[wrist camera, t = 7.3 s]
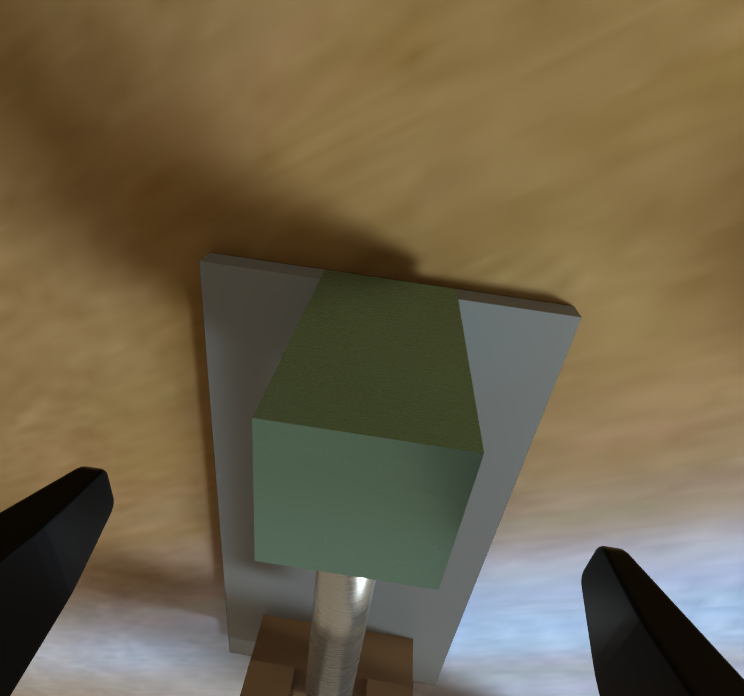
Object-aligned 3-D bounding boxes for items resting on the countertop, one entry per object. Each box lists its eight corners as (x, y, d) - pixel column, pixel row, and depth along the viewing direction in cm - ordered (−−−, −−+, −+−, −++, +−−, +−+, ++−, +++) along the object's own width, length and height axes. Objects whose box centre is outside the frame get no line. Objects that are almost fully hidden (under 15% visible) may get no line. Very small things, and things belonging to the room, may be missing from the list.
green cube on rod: (382, 607, 23) (368, 799, 17) (301, 594, 23) (259, 781, 17) (456, 288, 14) (483, 453, 8) (324, 269, 14) (252, 418, 8)
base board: (434, 669, 27) (434, 685, 27) (234, 637, 28) (229, 652, 27) (573, 305, 15) (581, 317, 14) (209, 252, 15) (199, 261, 14)
